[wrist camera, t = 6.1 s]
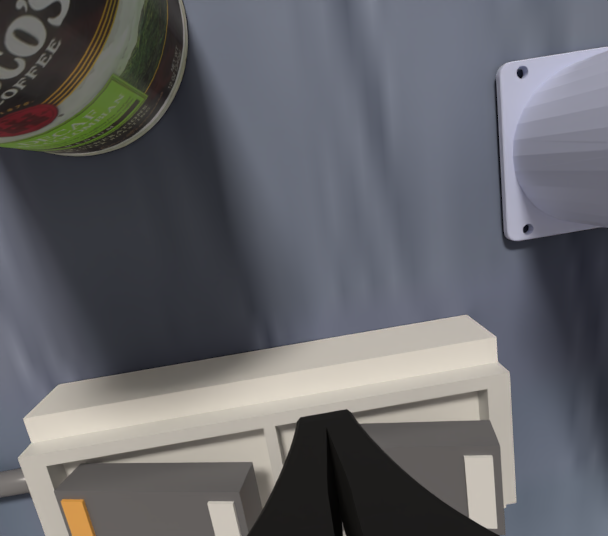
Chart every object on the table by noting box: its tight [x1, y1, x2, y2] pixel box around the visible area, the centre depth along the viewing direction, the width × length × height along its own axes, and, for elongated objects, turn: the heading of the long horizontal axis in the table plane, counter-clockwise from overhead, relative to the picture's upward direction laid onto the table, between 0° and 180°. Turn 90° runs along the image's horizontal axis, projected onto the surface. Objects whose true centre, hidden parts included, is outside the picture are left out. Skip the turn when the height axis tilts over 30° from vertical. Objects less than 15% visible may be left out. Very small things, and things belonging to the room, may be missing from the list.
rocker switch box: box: [0, 315, 516, 536], centre depth 20 cm, size 27×9×4 cm, turn 99°
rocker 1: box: [54, 462, 263, 536], centre depth 17 cm, size 8×4×2 cm, turn 99°
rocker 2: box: [342, 420, 505, 535], centre depth 18 cm, size 8×4×2 cm, turn 99°
